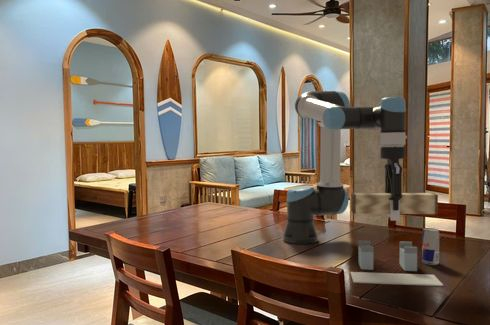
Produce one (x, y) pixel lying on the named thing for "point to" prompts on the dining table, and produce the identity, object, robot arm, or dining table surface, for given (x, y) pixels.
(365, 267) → the post left
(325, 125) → the robot arm
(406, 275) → the mat
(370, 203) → the rail
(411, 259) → the post right
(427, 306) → the dining table surface
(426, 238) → the energy drink
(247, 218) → the dining table surface
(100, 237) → the dining table surface
